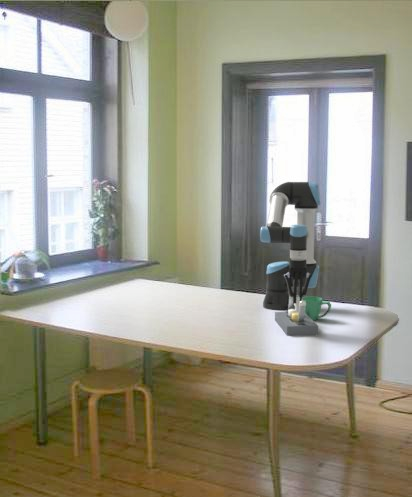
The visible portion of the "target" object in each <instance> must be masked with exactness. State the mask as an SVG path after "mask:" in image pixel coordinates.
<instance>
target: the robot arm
mask: <svg viewBox="0 0 412 497" xmlns="http://www.w3.org/2000/svg"><path fill="white" fill-rule="evenodd" d="M269 204H270V206H269V211H268V214H267V220H266V221H267V222H266V225H265V226H261V227H260V232H259V237H260V242H262V243H266V244H267V243H268V244H290V245H289V261H284V260H283V261H275V262H271V263H269V264H268V265H267V266H266V272H265V274H266V290H265V291H266V292H265V295H264V297H263V301H262V306H263V308H265V309H269V310H277V311H278V310H288V305H289V294H290V295H292V296H293V303H294V309H295V310H296V311H299V302H300V301H302V298H303V297H304V296H306V295H307V293H308V289H314V288H316V287H317V282H318V278H319V273H320V272H319V271H320V270H319V269H320V265H318V264H317V261H316V260H315V259H314V258H315V257H314V252H315V251H314V250H315V246H314V245H315V212H316V211H317V210H318V206H321V193H320V188H319V184H318V183H317V182H314V181H313V182H312V181H286V182H283V183H281V184H279V185H278V186H276V188H275V189H273V191H272V192H271V194H270V195H269ZM289 205H290V206H294V210H295V211H296V212H297V215H296V218H297V220H296V222H297V223H296V224H292V225H291V226H283V225H284V218H285V215H286V214H285V213H286V208H287V207H288V206H289ZM292 291H293V293H292ZM297 292H298V294H297Z"/></svg>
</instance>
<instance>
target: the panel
mask: <svg viewBox="0 0 412 497" xmlns="http://www.w3.org/2000/svg"><path fill="white" fill-rule="evenodd" d="M274 321H275V322H276V324H277V325H278V326H279V327H280V328H281V330H282V331H283V332H284V334H285V335H286V336H309V335H311V336H312V335H313V336H315V335H316V334H317V335H319V325H318V324H317V323H316V322H315V320H312V319H311V318H310V317H309V316H308V315H307V314H306V313H305V314H304V322H300V323H298V322H292V318H288V310H287V311H275V312H274Z"/></svg>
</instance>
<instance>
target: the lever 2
mask: <svg viewBox="0 0 412 497" xmlns="http://www.w3.org/2000/svg"><path fill="white" fill-rule="evenodd" d="M305 306H306V302H305V301H304V300H302V301H300V302H299V314H298V323H300V322H304V314H305Z"/></svg>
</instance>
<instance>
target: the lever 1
mask: <svg viewBox="0 0 412 497" xmlns="http://www.w3.org/2000/svg"><path fill="white" fill-rule="evenodd" d="M292 293H293V290H292ZM289 309H295V303H293V296H292V295H290V294H289V305H288V309H287V311H288V310H289Z"/></svg>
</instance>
